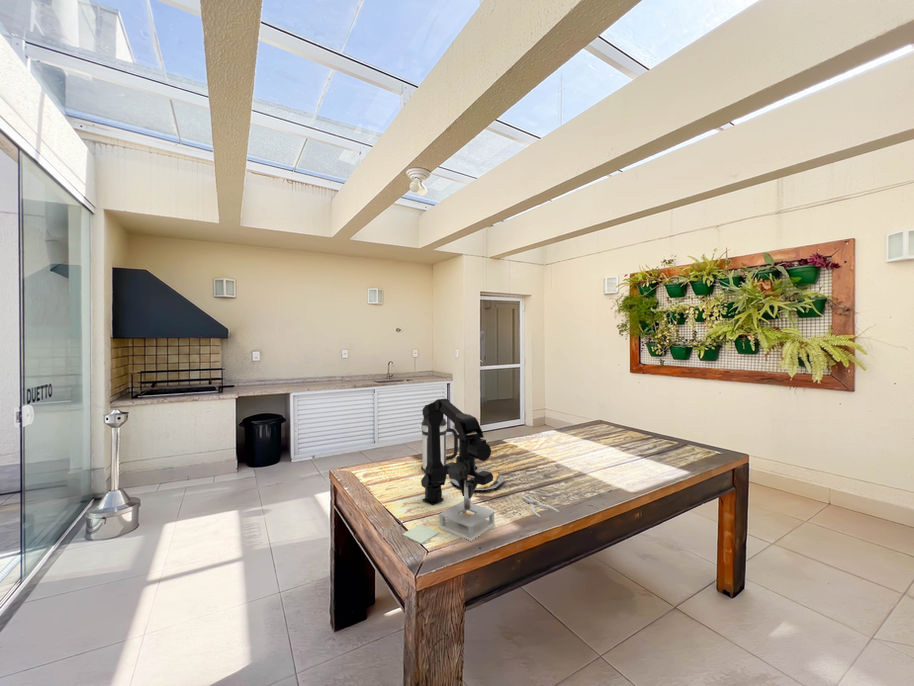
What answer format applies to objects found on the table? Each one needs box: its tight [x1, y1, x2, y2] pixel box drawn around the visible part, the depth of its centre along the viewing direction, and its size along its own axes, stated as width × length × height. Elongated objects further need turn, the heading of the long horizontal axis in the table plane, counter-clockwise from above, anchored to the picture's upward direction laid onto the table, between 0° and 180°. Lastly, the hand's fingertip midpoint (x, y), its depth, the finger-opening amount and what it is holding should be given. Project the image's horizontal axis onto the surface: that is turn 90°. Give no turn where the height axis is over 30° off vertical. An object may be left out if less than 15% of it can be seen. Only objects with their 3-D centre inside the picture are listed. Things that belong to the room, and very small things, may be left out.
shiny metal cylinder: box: [463, 479, 472, 511], centre depth 130 cm, size 2×2×10 cm
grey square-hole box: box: [438, 500, 496, 542], centre depth 130 cm, size 14×14×5 cm
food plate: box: [450, 468, 506, 491], centre depth 171 cm, size 25×23×4 cm
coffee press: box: [419, 417, 459, 470], centre depth 186 cm, size 17×16×30 cm
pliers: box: [521, 495, 560, 518], centre depth 145 cm, size 10×2×15 cm
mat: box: [401, 523, 441, 545], centre depth 124 cm, size 9×9×1 cm
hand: (467, 496), depth 130 cm, fingers closed on shiny metal cylinder, 2 cm apart
